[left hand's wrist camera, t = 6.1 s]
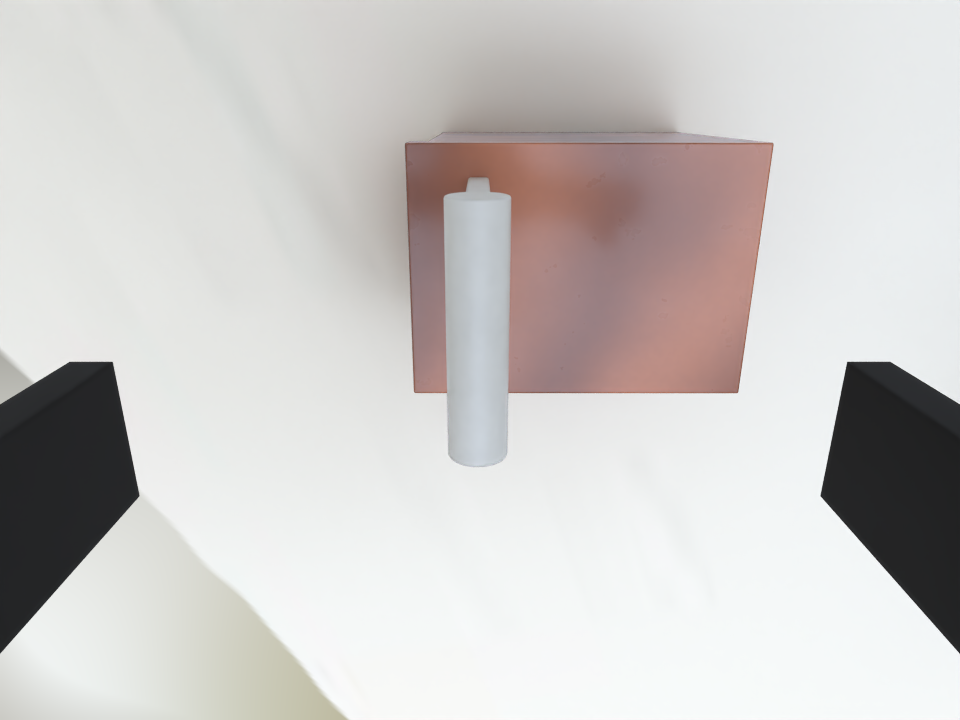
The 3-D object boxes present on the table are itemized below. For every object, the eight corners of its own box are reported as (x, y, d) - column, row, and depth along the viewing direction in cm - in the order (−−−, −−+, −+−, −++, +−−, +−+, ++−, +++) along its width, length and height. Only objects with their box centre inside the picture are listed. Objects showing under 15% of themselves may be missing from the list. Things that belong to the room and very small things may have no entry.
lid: (416, 383, 26) (388, 498, 19) (408, 141, 23) (370, 157, 15) (728, 383, 26) (834, 498, 19) (762, 141, 23) (905, 156, 15)
